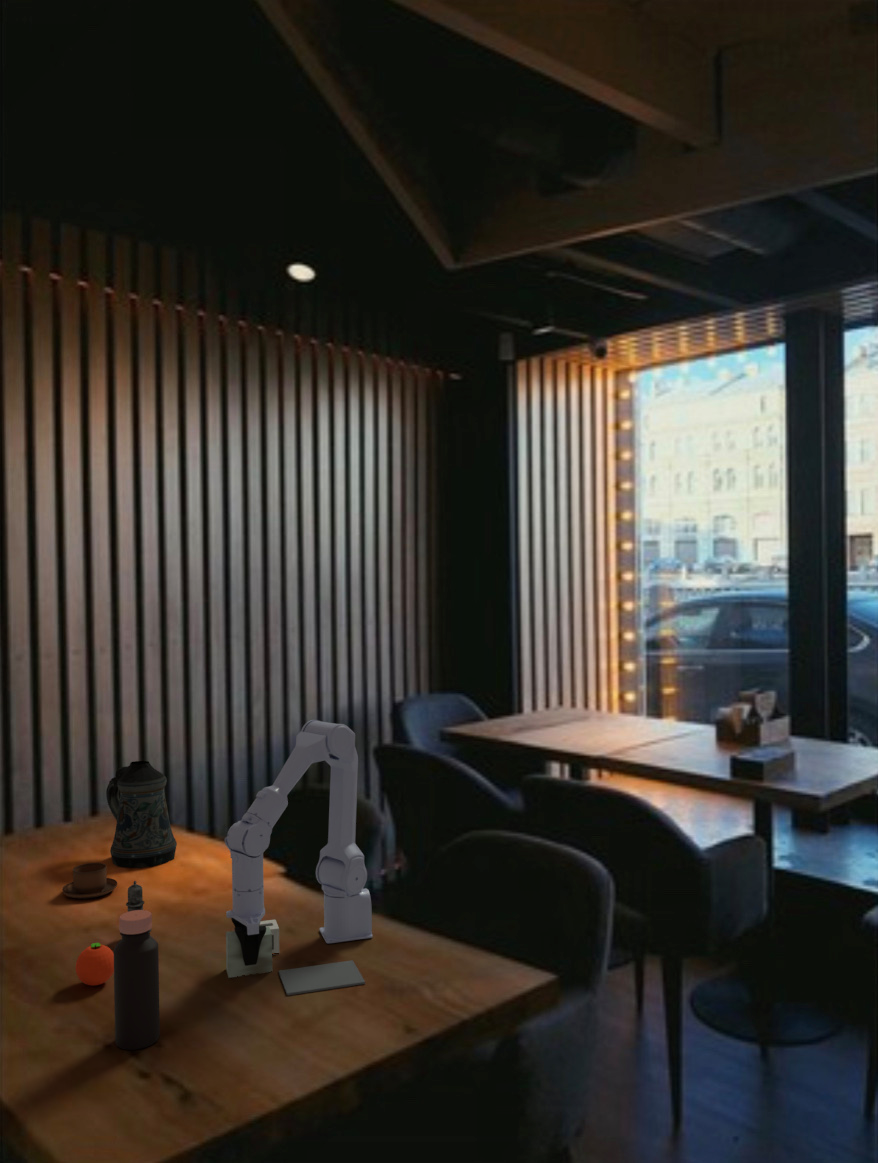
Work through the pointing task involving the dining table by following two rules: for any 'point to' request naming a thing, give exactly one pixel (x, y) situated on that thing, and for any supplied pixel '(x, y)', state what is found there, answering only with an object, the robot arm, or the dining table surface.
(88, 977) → the clementine
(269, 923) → the marked cube
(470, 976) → the dining table surface
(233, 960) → the pale green block
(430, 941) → the dining table surface
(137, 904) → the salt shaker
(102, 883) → the cup and saucer
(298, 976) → the slate mat
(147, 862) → the beer stein
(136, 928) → the bottle
